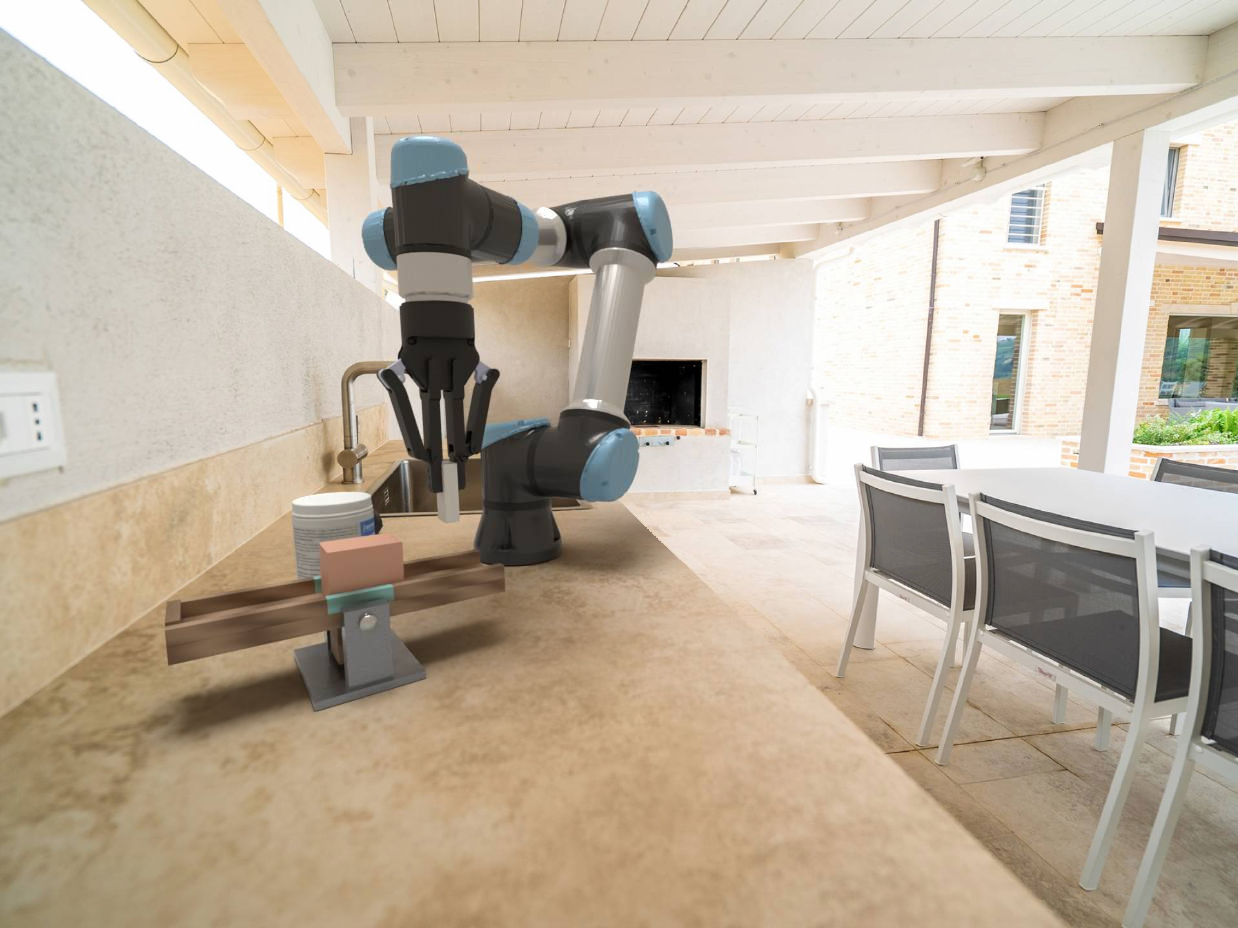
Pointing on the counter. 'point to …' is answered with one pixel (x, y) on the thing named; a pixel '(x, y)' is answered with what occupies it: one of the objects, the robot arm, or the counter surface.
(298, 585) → the beam
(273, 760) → the counter surface
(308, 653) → the stand
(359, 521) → the supplement tub
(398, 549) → the block
